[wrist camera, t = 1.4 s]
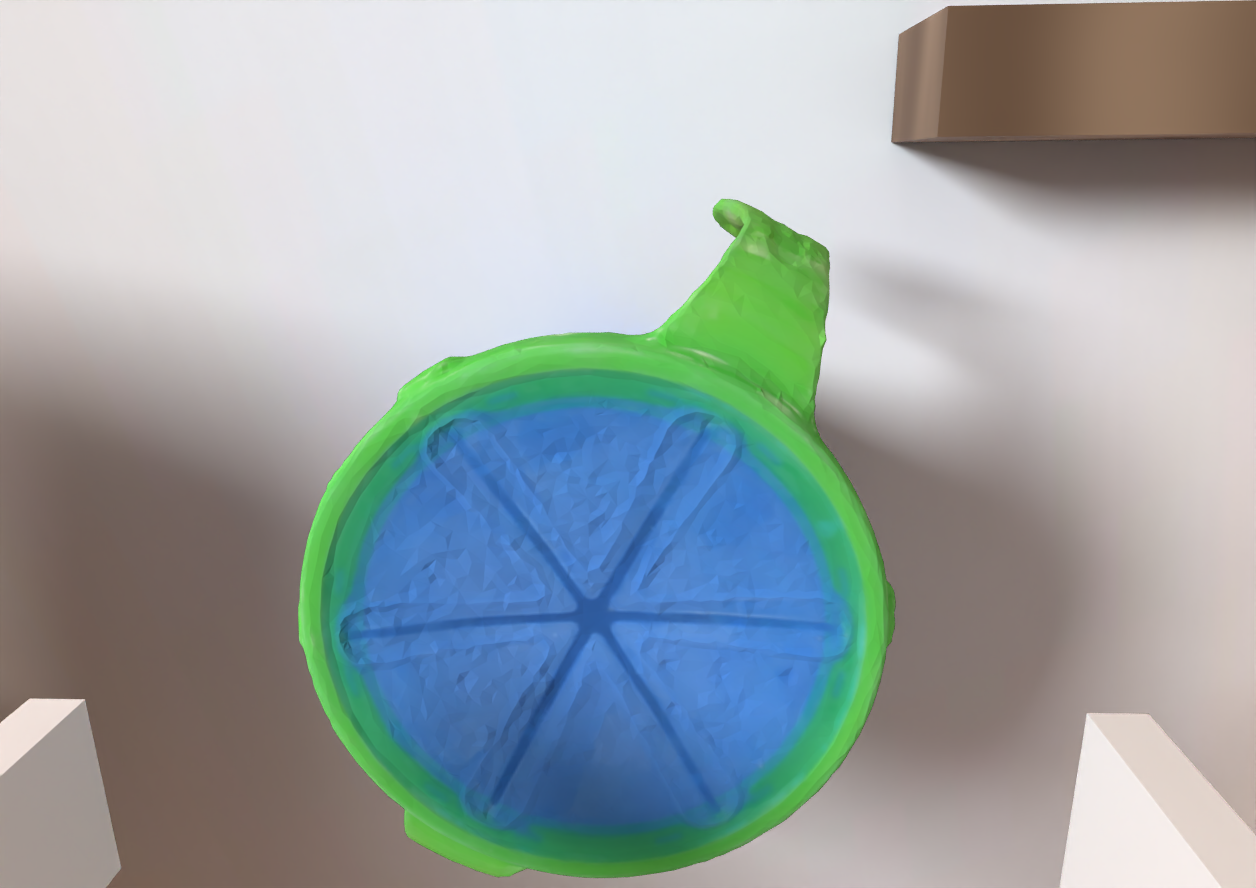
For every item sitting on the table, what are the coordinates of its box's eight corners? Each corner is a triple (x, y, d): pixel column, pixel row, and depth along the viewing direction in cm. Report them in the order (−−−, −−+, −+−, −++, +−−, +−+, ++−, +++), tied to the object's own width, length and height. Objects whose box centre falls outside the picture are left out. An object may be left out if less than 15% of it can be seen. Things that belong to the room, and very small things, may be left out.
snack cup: (617, 106, 23) (582, 60, 13) (943, 340, 24) (1131, 455, 14) (326, 569, 27) (133, 797, 17) (619, 746, 28) (594, 1050, 19)
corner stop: (858, 608, 26) (891, 681, 23) (898, 34, 22) (948, 6, 18) (1402, 612, 26) (1530, 689, 22) (1559, 23, 21) (1754, -9, 18)
